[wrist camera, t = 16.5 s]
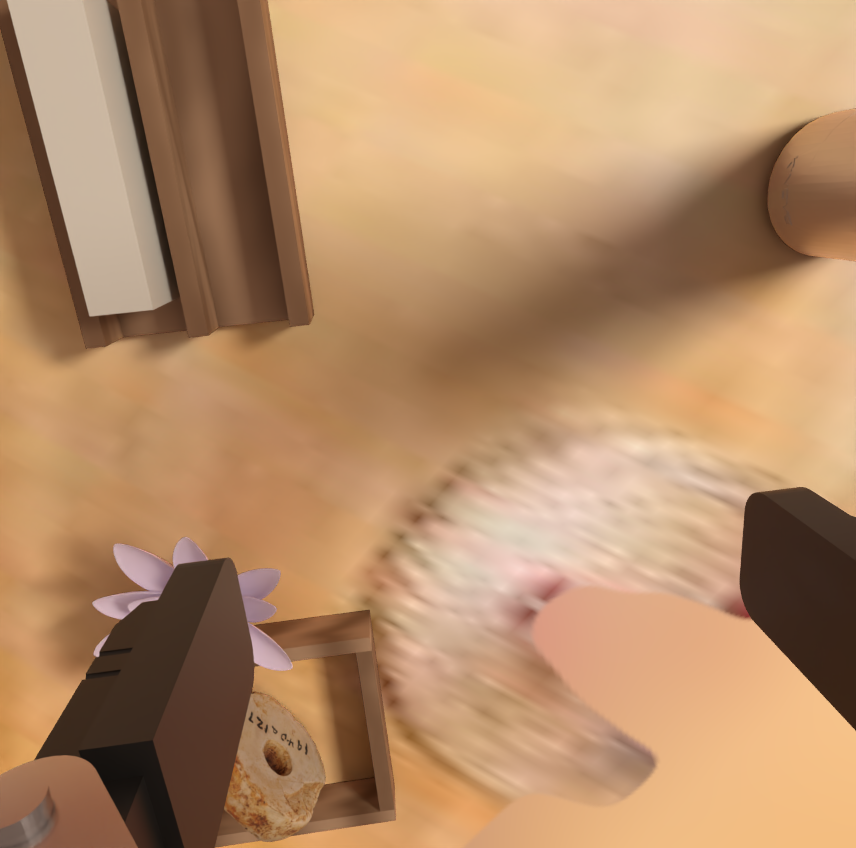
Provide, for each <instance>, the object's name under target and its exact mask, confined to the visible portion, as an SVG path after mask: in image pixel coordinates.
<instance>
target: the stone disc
mask: <svg viewBox="0 0 856 848" xmlns="http://www.w3.org/2000/svg"><path fill="white" fill-rule="evenodd" d="M325 778H326V777H325V770H324V766H323V763H322V760H321V757H320V754H319V752H318V750H317V747H316V745H315V743H314V741H313V740H312V738H311V736H310V735H309V733H308V732H307V730H306V729H305V727H304V726H303V725H302V724H301V723H299V722H298V721H296V720H295V718H294V716H293V715H292V714H291V713H290V712H289V711H288V710H287V709H286V708H285V707H282V706H281V705H280V703H279V702H278V701H277V700H275V699H274V698H272V697H270V696H268V695H264V694H261V693H253V694H251V696H250V700H249V705H248V709H247V713H246V717H245V722H244V726H243V730H242V734H241V738H240V743H239V747H238V751H237V755H236V760H235V764H234V768H233V772H232V777H231V781H230V785H229V789H228V793H227V798H226V802H225V806H224V810H225V811H226V812H227V813H228V814H230V815H231V816H232V817H233V818H234V819H235V820H236V821H237V822H238V823H239V824H240V825H242V827H243V828H244V829H245V830H246V831H247V832H250V833H251V834H253V835H254V836H255V837H256V838H257V839H259V840H261V841H264V842H273V841H278V840H282V839H285V838H287V837H290V836H291V835H293V834H294V833H296V832H298V831H299V830H301V829H302V828H303V827H304V826H306V824H307V823H308V822H309V821H310V819H311V817H312V814H313V808H314V807H315V804H316V802H317V800H318V799H317V798H318V796H319V793H320V790H321V789H322V787H323V786H324V784H325Z"/></svg>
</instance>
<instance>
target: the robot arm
mask: <svg viewBox="0 0 856 848" xmlns="http://www.w3.org/2000/svg"><path fill="white" fill-rule="evenodd" d="M768 211H769V215H770V219H771V223H772V225H773V227H774V229H775V231H776V233H777V234H778V236H779V237H780V238H781V239H782V240H783V242H784V243H785V244H786V245H788V246H789V247H791V248H792V249H794V250H795V251H797V252H800V253H802V254H805V255H809V256H817V257H825V258H833V259H842V260H849V261H856V108H854V109H849V110H844V111H839V112H834V113H831V114H828V115H825V116H822V117H819V118H818V119H816V120H814V121H812V122H810V123H809V124H807V125H806V126H805V127H803V128H802V129H801V130H800V131H799V132H797V133H796V134H795V135H794V136H793V137H792V139H791V140H790V141H789V142H788V143H787V145H786V146H785V147H784V148H783V150H782V152H781V154H780V155H779V157H778V159H777V161H776V163H775V165H774V168H773V171H772V174H771V176H770V181H769V187H768ZM740 590H741V595H742V599H743V602H744V605H745V607H746V610H747V612H748V613H749V615H750V617H751V618H752V620H753V621H754V622H755V623H756V624H757V625H758V626H759V627H760V628H761V630H763V632H764V633H765V634H766V635H767V636H768V637H769V638H770V639H771V640H772V641H773V642H774V643H775V645H776V646H777V647H778V648H779V649H780V650H781V651H782V652H783V653H784V654H785V655H786V656H787V657H788V658H789V659H790V661H791V662H792V663H793V664H794V665H795V666H796V667H797V668H798V669H799V670H800V671H801V672H802V673H803V675H804V676H805V677H806V678H807V679H808V680H809V681H810V682H811V683H812V684H813V685H814V686H815V687H816V688H817V689H818V691H820V693H821V694H822V695H823V696H824V697H825V698H826V699H827V700H828V701H829V702H830V703H831V705H832V706H833V707H835V709H836V710H837V711H838V712H839V713H840V714H841V715H842V716H843V717H844V718H845V719H846V720H847V722H848V723H849V724H850V725H851V726H852V727H853V728H854V729H855V730H856V517H853V516H851V515H849V514H847V513H846V512H844V511H843V510H841V509H839V508H838V507H836V506H835V505H833V504H832V503H830V502H828V501H827V500H825V499H824V498H822V497H821V496H819V495H818V494H816V493H814V492H813V491H811V490H809V489H808V488H804V487H797V488H789V489H781V490H773V491H765V492H757V493H753V494H752V495H751V496H750V497H749V498H748V500H747V502H746V506H745V514H744V528H743V541H742V555H741V568H740ZM253 681H254V655H253V646H252V641H251V636H250V632H249V627H248V622H247V618H246V613H245V608H244V604H243V599H242V594H241V590H240V585H239V580H238V576H237V571H236V568H235V565H234V563H233V561H232V560H231V559H230V558H222V559H214V560H206V561H198V562H190V563H182V564H178V565H177V566H176V567H175V569H174V571H173V573H172V575H171V576H170V578H169V580H168V582H167V584H166V586H165V588H164V590H163V592H162V593H161V595H160V597H159V599H158V600H155V601H147V602H142V603H141V604H140V605H138V606H137V607H136V608H135V609H134V610H133V611H131V612H130V613H129V614H128V615H127V616H126V617H124V618H123V619H122V620H121V621H120V622H119V623H117V624H116V625H115V626H114V628H113V630H112V631H111V633H110V635H109V636H108V638H107V640H106V641H105V643H104V645H103V646H102V648H101V650H100V651H99V657H96V658H95V660H94V661H93V663H92V665H91V666H90V668H89V670H88V671H87V673H86V680H82V681H81V683H80V685H79V686H78V688H77V690H76V691H75V693H74V695H73V696H72V698H71V700H70V701H69V703H68V705H67V706H66V708H65V710H64V711H63V713H62V715H61V716H60V718H59V720H58V721H57V723H56V725H55V726H54V728H53V730H52V731H51V733H50V735H49V736H48V738H47V740H46V741H45V743H44V745H43V746H42V748H41V750H40V751H39V753H38V755H37V756H36V758H35V760H34V761H30V762H28V763H25V764H23V765H20V766H17V767H15V768H13V769H11V770H9V771H7V772H5V773H3V774H2V775H0V848H215V844H216V840H217V836H218V831H219V827H220V823H221V819H222V815H223V810H224V806H225V802H226V798H227V793H228V789H229V785H230V781H231V777H232V772H233V768H234V764H235V760H236V755H237V751H238V747H239V743H240V738H241V734H242V730H243V726H244V722H245V717H246V713H247V709H248V705H249V700H250V696H251V692H252V687H253Z"/></svg>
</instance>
